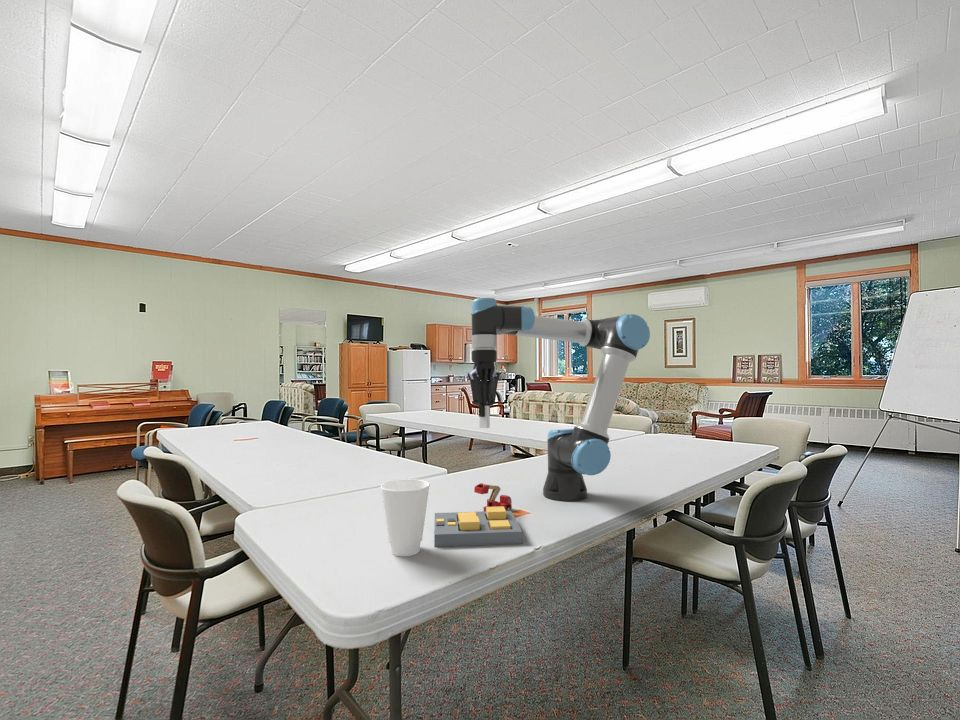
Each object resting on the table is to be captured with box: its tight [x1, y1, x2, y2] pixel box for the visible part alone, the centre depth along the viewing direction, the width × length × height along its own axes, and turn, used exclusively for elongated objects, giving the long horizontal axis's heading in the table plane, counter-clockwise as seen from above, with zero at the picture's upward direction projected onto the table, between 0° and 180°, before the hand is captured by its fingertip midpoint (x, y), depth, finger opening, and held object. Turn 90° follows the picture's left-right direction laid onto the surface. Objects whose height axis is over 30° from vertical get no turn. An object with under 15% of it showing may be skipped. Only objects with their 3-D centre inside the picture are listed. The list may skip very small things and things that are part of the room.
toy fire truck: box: [473, 482, 513, 512], centre depth 146 cm, size 3×14×10 cm, turn 134°
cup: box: [380, 478, 431, 557], centre depth 116 cm, size 12×12×16 cm
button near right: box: [459, 516, 480, 531], centre depth 125 cm, size 5×5×3 cm
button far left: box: [486, 506, 507, 520], centre depth 133 cm, size 5×5×3 cm
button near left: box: [489, 520, 511, 530], centre depth 125 cm, size 5×5×3 cm
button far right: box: [458, 511, 477, 521], centre depth 133 cm, size 5×5×3 cm
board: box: [433, 510, 523, 548], centre depth 129 cm, size 22×18×3 cm
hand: (484, 427), depth 145 cm, fingers closed
